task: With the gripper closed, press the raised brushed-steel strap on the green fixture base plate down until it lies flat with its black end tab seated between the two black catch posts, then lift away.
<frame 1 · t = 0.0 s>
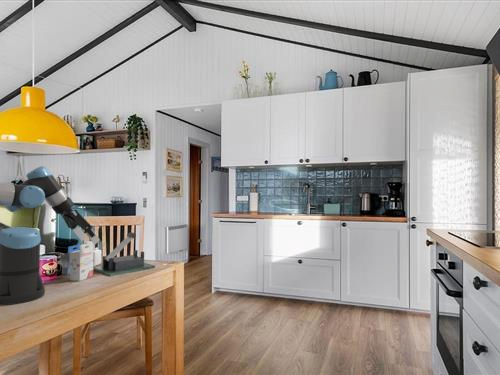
hand: (90, 240, 142), 15 cm above the table, tool tilted 35°, fingers open, 13 cm apart
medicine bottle: (91, 265, 165), on the table
green fixture base plate: (124, 268, 156), on the table
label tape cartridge: (70, 272, 148), on the table
steel strap: (120, 246, 155), point 11 cm above the table, hinge at 40.0°
ink cartridge box: (81, 278, 138), on the table
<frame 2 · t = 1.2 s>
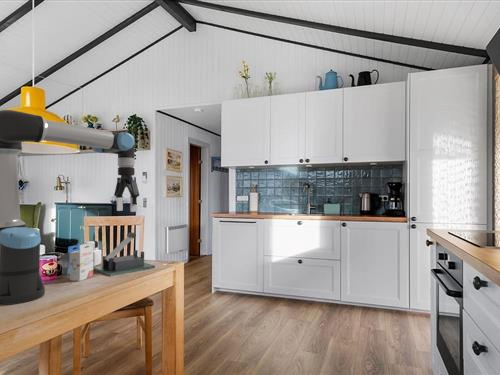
hand: (126, 211, 157), 28 cm above the table, tool pointing down, fingers open, 13 cm apart
nothing on the table moved.
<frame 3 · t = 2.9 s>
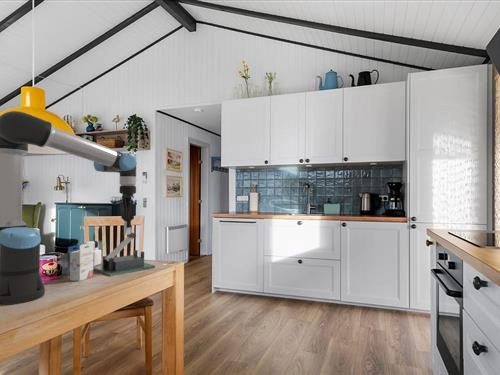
hand: (127, 234, 157), 16 cm above the table, tool pointing down, fingers closed
steel strap: (120, 246, 155), point 11 cm above the table, hinge at 39.5°, touching gripper
everything else where it was.
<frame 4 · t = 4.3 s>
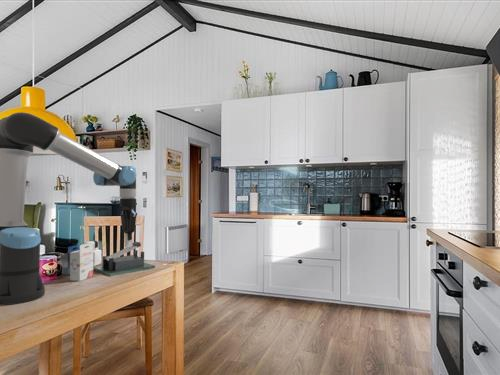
hand: (128, 246, 158), 10 cm above the table, tool pointing down, fingers closed
steel strap: (122, 251, 156), point 8 cm above the table, hinge at 18.7°, touching gripper
everything else where it was.
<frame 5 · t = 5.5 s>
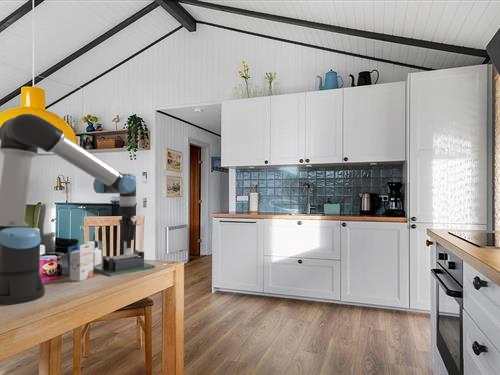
hand: (127, 254, 157), 7 cm above the table, tool pointing down, fingers closed
steel strap: (123, 256, 156), point 6 cm above the table, hinge at 0.9°, touching gripper
everything else where it was.
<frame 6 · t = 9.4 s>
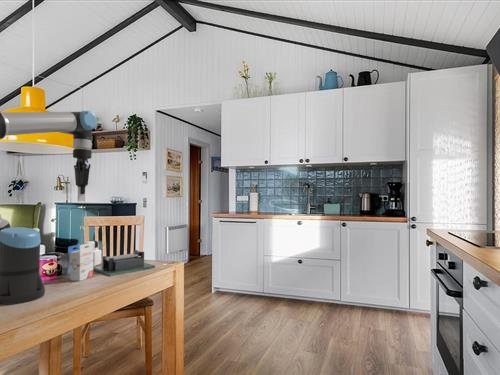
hand: (81, 201, 148), 32 cm above the table, tool pointing down, fingers closed
steel strap: (123, 256, 156), point 6 cm above the table, hinge at 0.8°
everything else where it was.
at the end: steel strap at +1° (first picture: +40°); ink cartridge box moved 0.3 cm from its start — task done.
